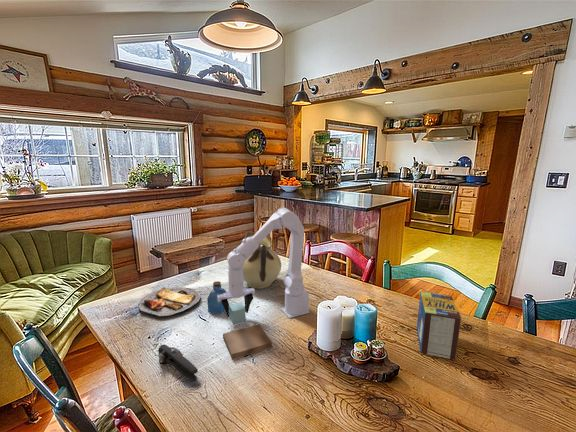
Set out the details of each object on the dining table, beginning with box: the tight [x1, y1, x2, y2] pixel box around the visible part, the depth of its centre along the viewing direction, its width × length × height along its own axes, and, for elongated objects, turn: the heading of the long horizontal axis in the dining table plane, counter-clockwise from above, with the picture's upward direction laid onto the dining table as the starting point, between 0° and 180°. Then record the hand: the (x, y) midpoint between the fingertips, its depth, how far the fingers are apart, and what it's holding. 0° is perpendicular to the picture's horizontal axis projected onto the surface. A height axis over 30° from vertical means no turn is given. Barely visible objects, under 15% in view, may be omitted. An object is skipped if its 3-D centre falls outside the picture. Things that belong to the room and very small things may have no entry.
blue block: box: [229, 302, 246, 326], centre depth 114 cm, size 5×5×6 cm
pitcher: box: [243, 232, 282, 289], centre depth 144 cm, size 22×24×25 cm
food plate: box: [137, 286, 201, 317], centre depth 127 cm, size 25×23×4 cm
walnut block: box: [222, 323, 273, 360], centre depth 100 cm, size 14×12×2 cm
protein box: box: [416, 291, 462, 361], centre depth 99 cm, size 10×15×16 cm
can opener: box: [157, 344, 199, 382], centre depth 88 cm, size 18×7×6 cm, turn 52°
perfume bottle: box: [206, 281, 229, 314], centre depth 121 cm, size 6×6×12 cm
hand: (237, 313), depth 114 cm, fingers open, 7 cm apart
